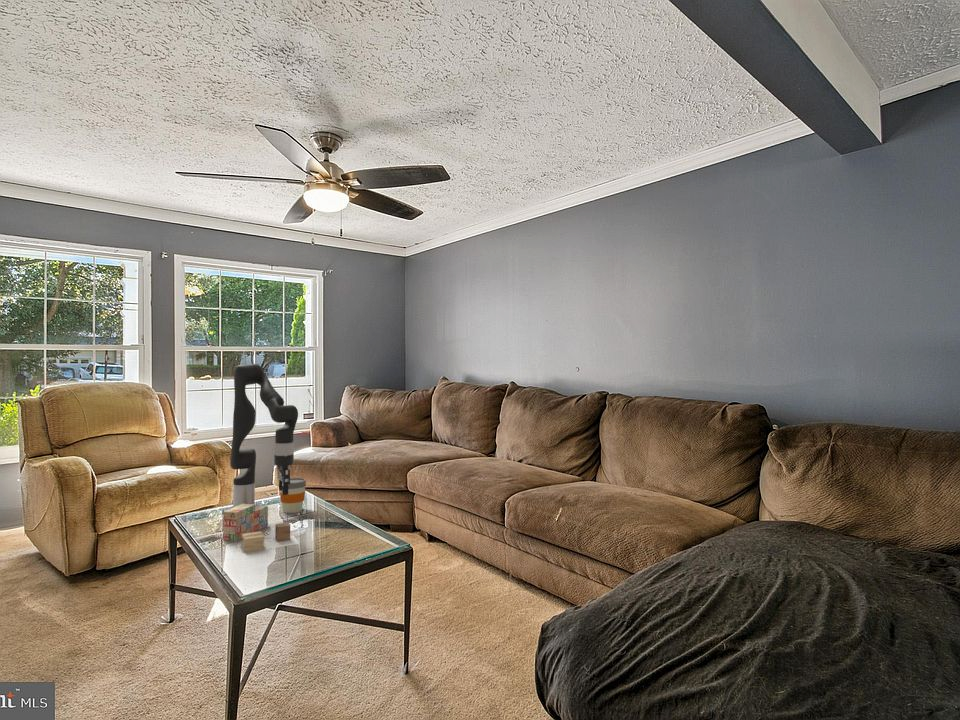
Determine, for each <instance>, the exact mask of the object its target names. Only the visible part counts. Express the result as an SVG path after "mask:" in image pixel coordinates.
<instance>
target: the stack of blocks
mask: <svg viewBox="0 0 960 720" xmlns="http://www.w3.org/2000/svg"><path fill="white" fill-rule="evenodd" d="M268 506H269V505H257V504H241V505H239V506H236V507H234V508H233V507H231V508H229V509H226V510H223V519H222V521H223V523H222V527H223V530H222V540H226V541H234V542H235V541H239V540H240V539H242V534H246V533H253V532H258V530H259V531H260V530H261V529H264V528H267V527H268V525H269V524H268V523H269V521H268V520H269V508H268Z"/></svg>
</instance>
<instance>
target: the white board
mask: <svg viewBox="0 0 960 720" xmlns="http://www.w3.org/2000/svg"><path fill="white" fill-rule="evenodd" d="M295 545H300V542H299V541H298V539H297V538H296V537H295V535H290V540H287V541H280V542H277V541H276V539H275V537H273V538H267V539H264V549H261V550H255V551H248V552H244V551H243V548H242V542H241V543H236V546H237V548H238V552H239V554H245V553H252V552H259V551H265V550H269V549H270V550H271V549H275V548H282V547H289V546H295Z"/></svg>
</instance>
